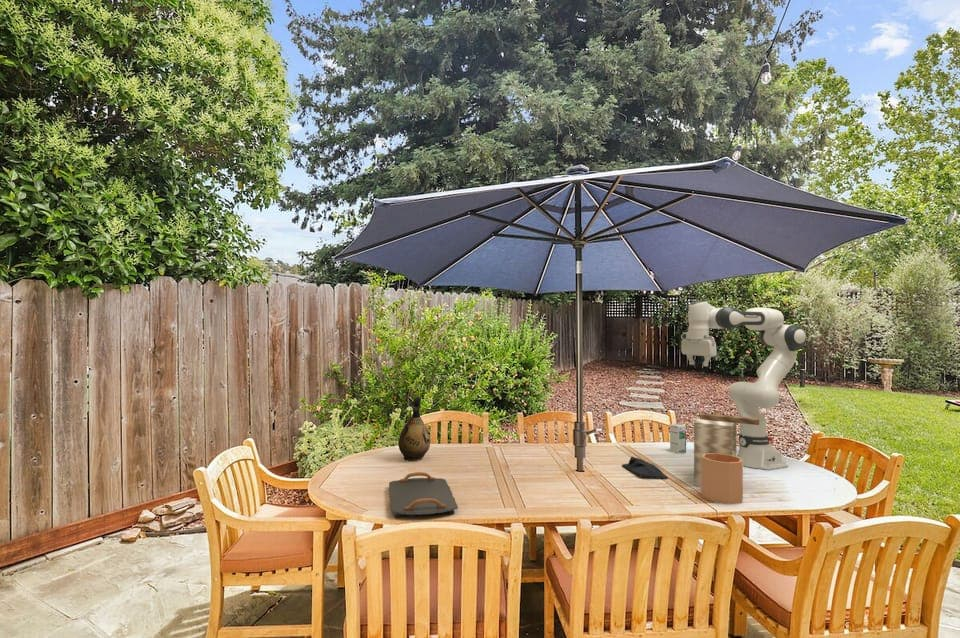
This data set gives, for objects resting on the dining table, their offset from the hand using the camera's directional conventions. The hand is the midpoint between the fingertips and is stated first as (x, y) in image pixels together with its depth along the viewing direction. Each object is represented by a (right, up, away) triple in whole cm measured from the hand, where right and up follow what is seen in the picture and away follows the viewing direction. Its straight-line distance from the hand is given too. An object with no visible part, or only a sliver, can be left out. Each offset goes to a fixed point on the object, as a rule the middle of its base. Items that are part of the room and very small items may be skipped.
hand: (698, 365), depth 229 cm
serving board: (-123, -47, -45) cm, 140 cm away
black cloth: (-27, -48, -7) cm, 56 cm away
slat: (+3, -21, -22) cm, 31 cm away
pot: (-8, -47, -39) cm, 62 cm away
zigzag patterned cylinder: (-1, -47, -20) cm, 51 cm away
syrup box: (+2, -49, +29) cm, 57 cm away
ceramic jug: (-134, -47, +12) cm, 142 cm away
